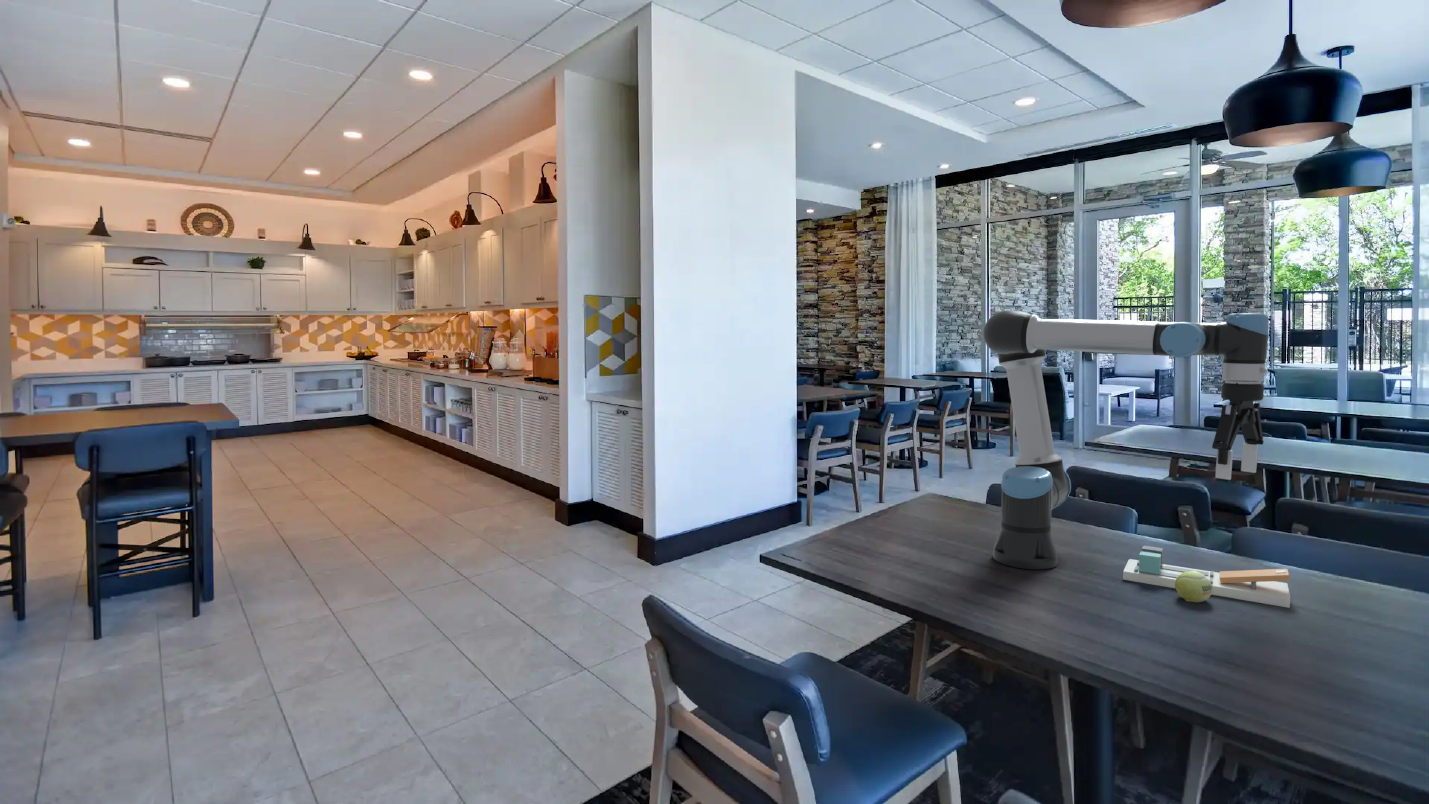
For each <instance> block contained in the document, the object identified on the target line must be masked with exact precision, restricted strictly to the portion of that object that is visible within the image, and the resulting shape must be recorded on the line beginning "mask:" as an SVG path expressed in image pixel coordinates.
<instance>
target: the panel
mask: <svg viewBox="0 0 1429 804" xmlns="http://www.w3.org/2000/svg"><path fill="white" fill-rule="evenodd" d="M1186 571H1197V572H1200V573H1202V574H1203V575H1205V577H1207V578H1208V579H1209V581H1210V582H1211V585H1212V593H1211V595H1210V596H1212V595H1213V596H1217V597H1218V596H1219V597H1223V598H1230V599H1235V600H1241V601H1247V602H1251V603H1252V602H1254V603H1261V604H1263V605H1270V606H1277V607H1283V608H1288V609H1290V608H1291V595H1290V594H1291V593H1290V590H1289V586H1288V585H1289V584H1288V583H1287V582H1284V581H1266V582H1237V583H1221V582H1220V578H1219V576H1220V572H1215V571H1214V570H1210V571H1209V570H1204V569H1198V568H1190V567H1183V566H1177V565H1170V564H1165V563H1164V564H1163V563H1162V567H1161V568H1160V574H1153V573H1147V572H1141V571H1139V559H1132V558H1129V559H1128V561H1127V563H1126V565H1125V567H1124V569H1123V572H1122V573H1123V574H1122V580H1125V581H1130V582H1136V583H1142V584H1147V585H1154V586H1160V587H1165V588H1169V589H1176V588H1175V582H1176V579H1177V577H1178V576H1179V575H1180V574H1181V573H1183V572H1186Z"/></svg>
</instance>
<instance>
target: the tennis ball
mask: <svg viewBox="0 0 1429 804" xmlns="http://www.w3.org/2000/svg"><path fill="white" fill-rule="evenodd" d="M1174 589H1175V590H1176V593H1177V594H1178V595H1179V596H1180V597H1181V598H1182V599H1183V600H1185V602H1191V603H1202V602H1205V601H1206V600H1207V599H1209V598H1210V597H1211V596H1212V595H1211V593H1212V585H1211V582H1210V581H1209V579H1208V578H1207V577H1205V575H1203V574H1202V573H1200V572H1197V571H1186V572H1183V573H1181V574H1180V575H1179V576H1178V577H1177V579H1176V582H1175V588H1174Z"/></svg>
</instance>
